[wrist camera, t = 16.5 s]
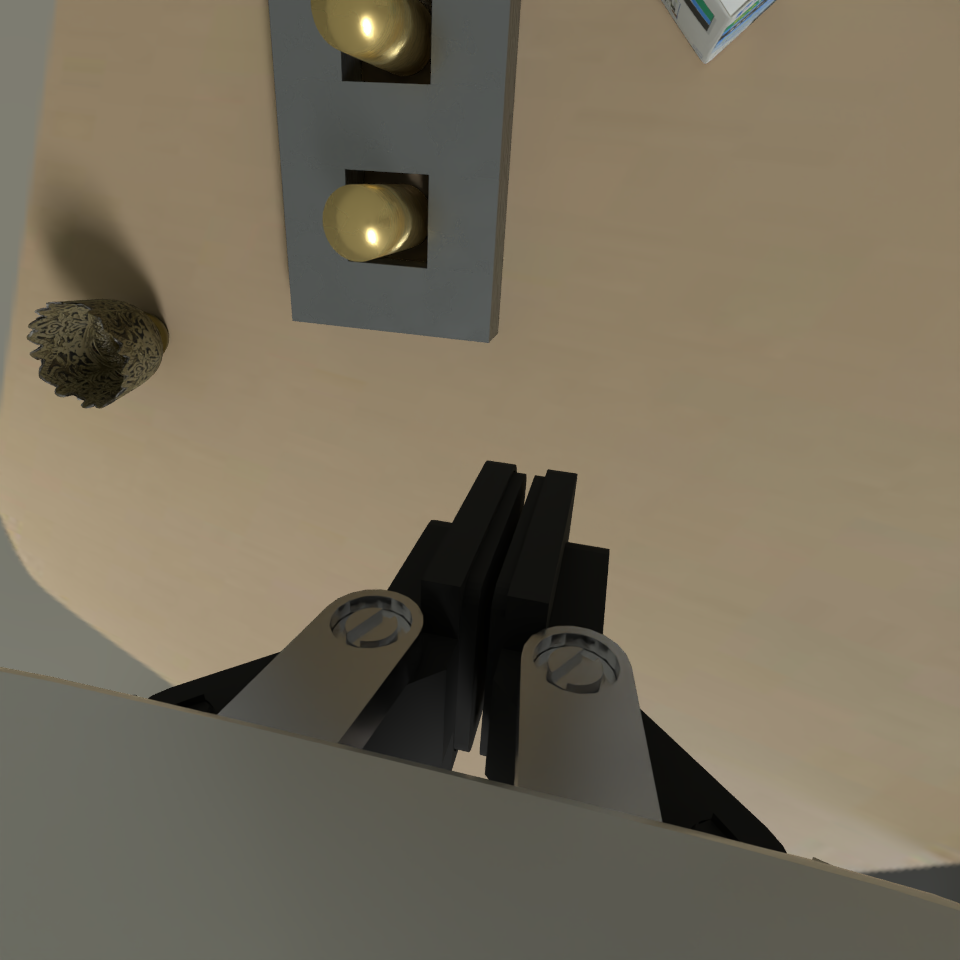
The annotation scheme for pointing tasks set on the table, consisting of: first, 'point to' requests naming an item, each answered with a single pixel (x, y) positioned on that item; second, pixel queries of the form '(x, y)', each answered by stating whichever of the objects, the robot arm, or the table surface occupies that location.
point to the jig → (400, 169)
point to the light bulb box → (714, 21)
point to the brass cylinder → (375, 220)
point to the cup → (97, 348)
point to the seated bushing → (378, 31)
